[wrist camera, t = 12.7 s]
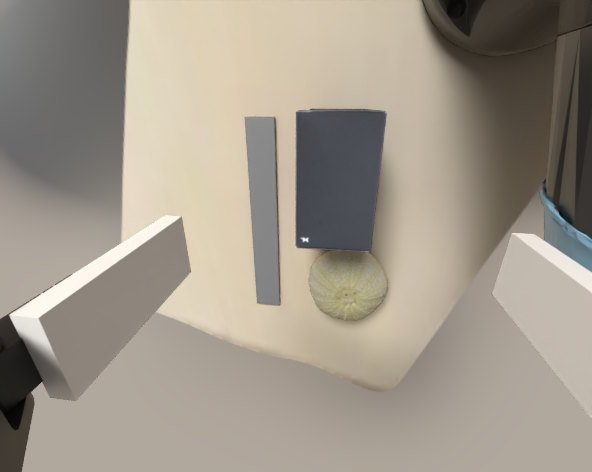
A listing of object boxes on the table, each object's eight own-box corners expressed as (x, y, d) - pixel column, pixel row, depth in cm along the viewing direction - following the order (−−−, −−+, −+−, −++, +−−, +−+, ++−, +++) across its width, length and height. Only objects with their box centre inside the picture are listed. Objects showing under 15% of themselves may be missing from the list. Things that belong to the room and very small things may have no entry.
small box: (364, 212, 33) (374, 256, 23) (305, 209, 33) (292, 251, 24) (374, 108, 28) (391, 110, 19) (307, 107, 29) (291, 109, 20)
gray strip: (274, 117, 30) (273, 117, 29) (279, 302, 39) (279, 305, 39) (246, 116, 30) (244, 116, 30) (258, 300, 40) (257, 303, 39)
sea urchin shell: (300, 312, 37) (303, 304, 30) (313, 253, 40) (318, 232, 32) (372, 328, 37) (394, 324, 29) (380, 268, 39) (401, 250, 32)
